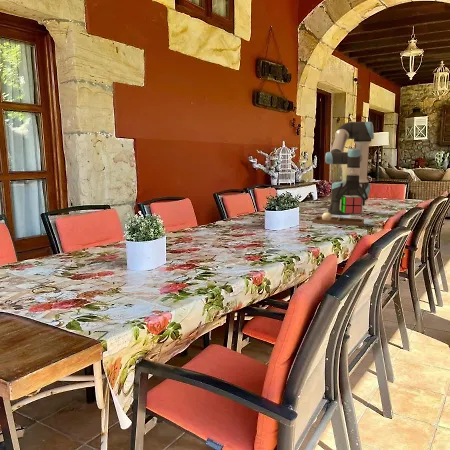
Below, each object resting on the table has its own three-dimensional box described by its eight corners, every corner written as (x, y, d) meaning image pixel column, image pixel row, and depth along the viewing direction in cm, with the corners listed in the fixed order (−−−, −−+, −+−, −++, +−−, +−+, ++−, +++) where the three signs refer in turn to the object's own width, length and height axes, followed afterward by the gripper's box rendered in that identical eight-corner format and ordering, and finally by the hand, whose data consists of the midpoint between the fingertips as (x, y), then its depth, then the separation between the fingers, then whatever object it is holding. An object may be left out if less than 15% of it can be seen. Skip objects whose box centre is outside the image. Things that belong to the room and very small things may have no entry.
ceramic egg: (322, 220, 271) (322, 211, 270) (332, 221, 268) (332, 211, 267) (320, 222, 265) (321, 212, 264) (330, 222, 263) (331, 213, 262)
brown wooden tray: (316, 220, 277) (316, 216, 276) (363, 223, 266) (364, 219, 266) (312, 224, 263) (312, 219, 262) (362, 227, 252) (362, 222, 252)
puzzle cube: (361, 213, 255) (362, 197, 254) (344, 213, 256) (345, 197, 254) (356, 211, 265) (357, 195, 263) (340, 211, 265) (341, 195, 264)
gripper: (331, 174, 257) (330, 210, 261) (373, 175, 249) (371, 212, 252) (333, 174, 264) (331, 208, 268) (374, 175, 256) (371, 210, 259)
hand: (350, 210), depth 260 cm, fingers closed on puzzle cube, 12 cm apart
